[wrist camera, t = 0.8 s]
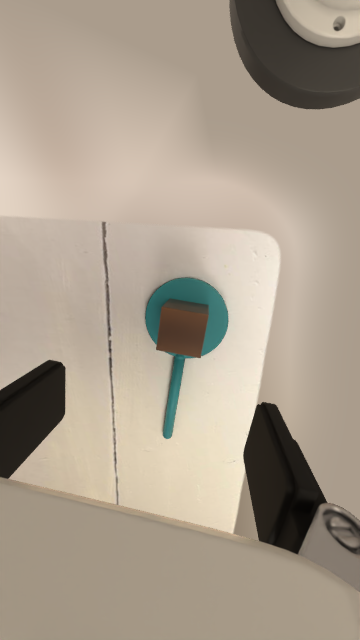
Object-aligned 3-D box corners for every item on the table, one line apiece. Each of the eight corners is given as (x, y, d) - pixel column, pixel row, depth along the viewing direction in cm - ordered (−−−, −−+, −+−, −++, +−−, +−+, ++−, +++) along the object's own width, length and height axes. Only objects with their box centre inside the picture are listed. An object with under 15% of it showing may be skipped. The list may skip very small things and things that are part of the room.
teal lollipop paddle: (151, 271, 23) (148, 271, 22) (235, 284, 23) (237, 286, 22) (134, 426, 29) (131, 433, 28) (201, 441, 29) (201, 448, 28)
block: (169, 298, 23) (161, 306, 19) (208, 304, 23) (209, 314, 19) (164, 334, 24) (155, 350, 20) (201, 341, 24) (200, 358, 20)
